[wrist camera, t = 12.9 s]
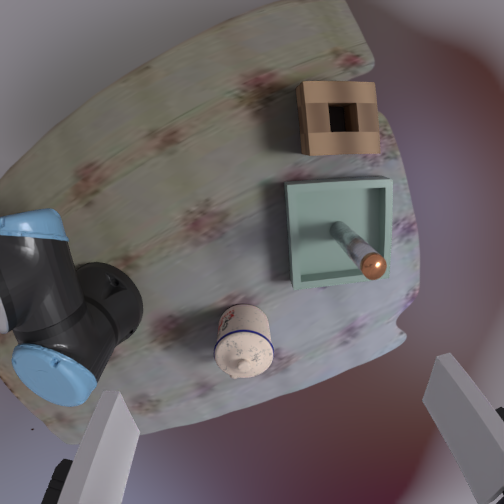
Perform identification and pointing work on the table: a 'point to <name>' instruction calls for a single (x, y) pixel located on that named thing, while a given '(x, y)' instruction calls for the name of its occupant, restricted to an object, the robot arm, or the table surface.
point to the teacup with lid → (243, 342)
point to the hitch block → (355, 115)
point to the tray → (321, 219)
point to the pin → (359, 251)
